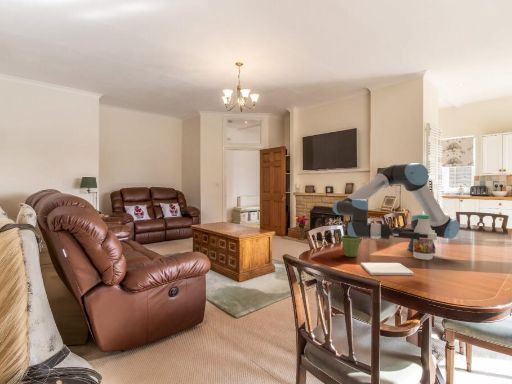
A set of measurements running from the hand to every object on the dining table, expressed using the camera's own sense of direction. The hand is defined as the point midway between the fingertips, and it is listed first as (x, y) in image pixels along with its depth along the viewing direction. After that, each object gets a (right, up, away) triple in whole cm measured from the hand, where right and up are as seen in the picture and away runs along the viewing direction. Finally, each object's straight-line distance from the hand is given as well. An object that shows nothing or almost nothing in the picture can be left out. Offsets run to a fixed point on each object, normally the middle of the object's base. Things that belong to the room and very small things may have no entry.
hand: (435, 235), depth 128 cm
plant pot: (-24, -19, +42) cm, 52 cm away
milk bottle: (-4, -11, +3) cm, 12 cm away
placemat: (-16, -20, +14) cm, 29 cm away
